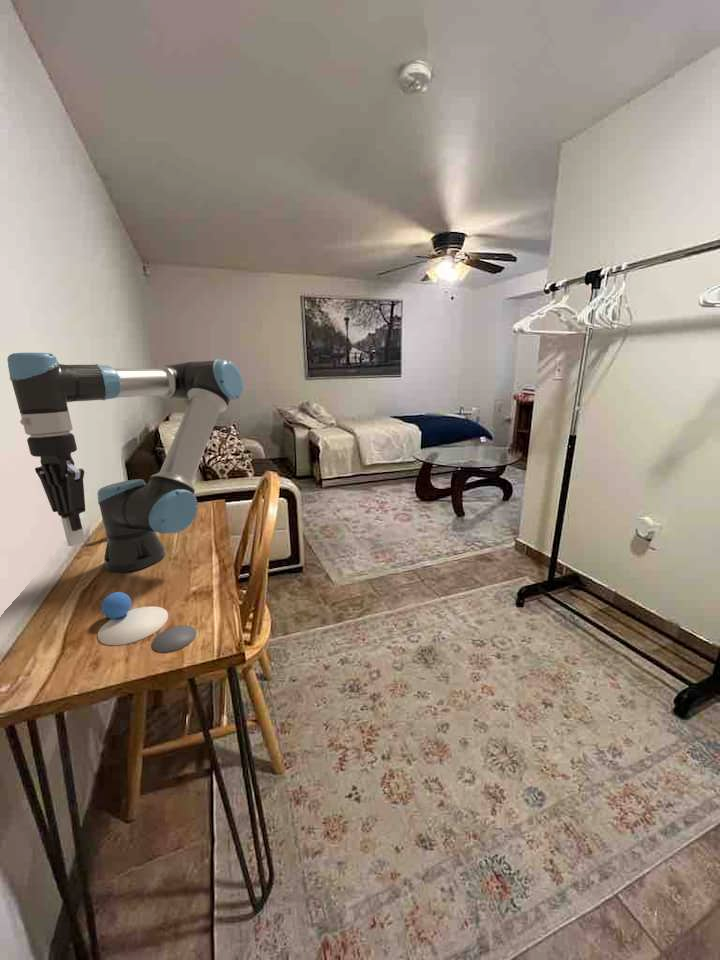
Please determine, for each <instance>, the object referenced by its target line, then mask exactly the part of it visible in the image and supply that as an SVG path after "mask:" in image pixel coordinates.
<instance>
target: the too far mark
mask: <svg viewBox="0 0 720 960" xmlns="http://www.w3.org/2000/svg"><path fill="white" fill-rule="evenodd" d="M196 637H197V630H196V628H195V627H193V626H191V625H185V624H184V625H183V624H182V625H175V626H172V627H168V628H166V629H165V630H163V631H162V632H160V633H158V634H157V635H156V636H155V638H153V640H152V642H151V648H152V649H153V650H154V651H155V652H158V653H172V652H175V651H178V650H180V649H183V648H184V647H187V646H188V645H189V644H191V643H192V642H193V641H194V640H195V639H196Z"/></svg>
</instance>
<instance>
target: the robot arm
mask: <svg viewBox="0 0 720 960" xmlns="http://www.w3.org/2000/svg"><path fill="white" fill-rule="evenodd" d="M6 361H7V367H8V372H9V380H10V381H11V384H12V387H13V391H14V395H15V399H16V402H17V405H18V406H17V407H18V410H19V413H20V417H21V419H20V421H19V423H20V424H21V425H22V426H23V430H24V433H25V434H26V435H27V436H29V437H28V438H27V439H26V443H27V446H28V449H29V454H30V455H31V457H37V458H40V462H39V463H40V465H41V466H39V467H35V468H34V470H35V473H36V474H37V476H38V477H39V479H40V482H41V485H42V487H43V490H44V492H45V495H46V497H47V498H46V499H48V502H49V505H50V508H51V510H52V512H53V513H57V515H58V516H60V519H61V523H62V527H63V530H64V535H65V538H66V542H67V546H69V547H75V546H77V545H80V544H84V543H86V537H85V533H84V530H83V526H82V520H81V516H80V514H82V513H84V512H86V499H85V485H84V477H85V476H84V475H85V470H84V469H83V468H77V467H76V466H75V461H74V459H73V457H72V453H74V452H76V451H77V450H78V447H77V444H76V443H77V442H76V439H75V434H73V433H71V432H72V431H73V424H72V421H71V416H70V412H69V408H68V403H72V402H73V403H74V402H88V401H89V402H90V401H106V400H112V399H116V398H119V399H120V398H132V397H133V398H134V397H136V398H137V397H151V396H158V397H160V398H162V399H181V400H189V403H188V404H187V407H186V410H185V412H184V415H183V417H182V419H181V422H180V423H179V427H178V429H177V431H176V433H175V435H174V438H173V440H172V443H171V444H170V446H169V449H168V451H167V454H166V455H165V456H166V457H165V459H164V461H163V463H162V465H161V468H160V470H159V472H157V473H155V474H152V475H151V476H150V478H149V479H148V482H147V483H146V481H145V480H144V479H142V478H138V479H135V478H134V479H131V480H130V479H129V480H125V481H121V482H116V483H111V484H108V485H105V486H103V487H101V488H99V489H98V491H97V501H98V502H97V504H98V505H99V509H100V514H101V518H102V522H103V526H104V532H105V535H106V547H105V552H104V553H105V554H104V558H103V562H104V567H105V569H106V570H107V571H109V572H112V573H126V572H132V571H138V570H141V569H144V568H147V567H150V566H152V565H155V564H157V563H159V562H160V561H161V560H163V559H164V557H165V556H164V555H166V551H165V546H164V544H163V542H162V540H161V539H160V537H159V536H158V534H177V533H180V532H182V531H185V530H186V529H188V528H189V527H190V525H192V523H193V522H194V520H195V519H196V516H197V514H198V513H197V512H198V507H199V506H198V505H197V503H198V500H197V498H196V495H194V494H195V492H196V489H195V487H194V485H193V481H194V479H195V476H196V474H197V471H198V468H199V467H200V463H201V460H202V458H203V455H204V453H205V452H206V451H205V450H206V448H207V446H208V443H209V440H210V439H211V435H212V433H213V431H214V427H215V426H216V422H217V420H218V417H219V414H220V413H223V412H225V411H226V410H227V409H228V406H229V404H230V401H231V400H233V401H234V400H236V399H238V398H240V397H241V395H242V394H243V390H244V389H243V388H244V387H243V385H244V383H243V378H242V375H241V372H240V370H239V369H238V367H237V366H236V364H234V362H232V361H230V360H227V359H214V360H200V361H197V360H196V361H186V362H180V363H176V364H175V363H174V364H168V365H166V364H165V365H157V366H155V367H154V368H123V367H122V368H116V367H115V368H114V367H112V366H110V365H105V364H103V365H102V364H98V363H97V364H62V363H59V361H58V359H57V357H56V355H54V354H53V353H49V352H47V353H46V352H15V353H11V354H9V355H8V357H7V360H6ZM157 533H158V534H157Z"/></svg>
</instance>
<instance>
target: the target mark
mask: <svg viewBox="0 0 720 960" xmlns="http://www.w3.org/2000/svg"><path fill="white" fill-rule="evenodd" d="M168 619H169V611H168V610H166V609H165V608H163V607H160V606H141V607H137V608H133V609H130V610H129V611H128V613H127V614H126V615H124V616H123V617H120V618H117V619H111V618H110V619H109V620H108V621H107V622H105V623H104V624H103V625H101V627H100V629H99V630H98V632H97V640H98V641H99V642H100V643H101V644H103V645H108V646H123V645H127V644H132V643H135V642H139V641H141V640H144V639H146V638H148V637H151V635H153V634H155V633H156V632H158V631H159V630H161V629H162V628H163V627H164V626H165V625H166V623H167V622H168Z"/></svg>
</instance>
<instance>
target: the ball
mask: <svg viewBox="0 0 720 960" xmlns="http://www.w3.org/2000/svg"><path fill="white" fill-rule="evenodd" d="M131 608H132V600H131V597H130V596H129V594H126V593H125V592H122V591H117V592H112V593H110V594H108V595H107V596H106V597H105V598H104V600H103V601H102V603H101V612H102V614H103V615H104V616H105V617H107V618H108V619H110V620H111V619H117V618H120V617H123V616H124V615H126V614H127V613H128V611H130V610H131Z"/></svg>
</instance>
